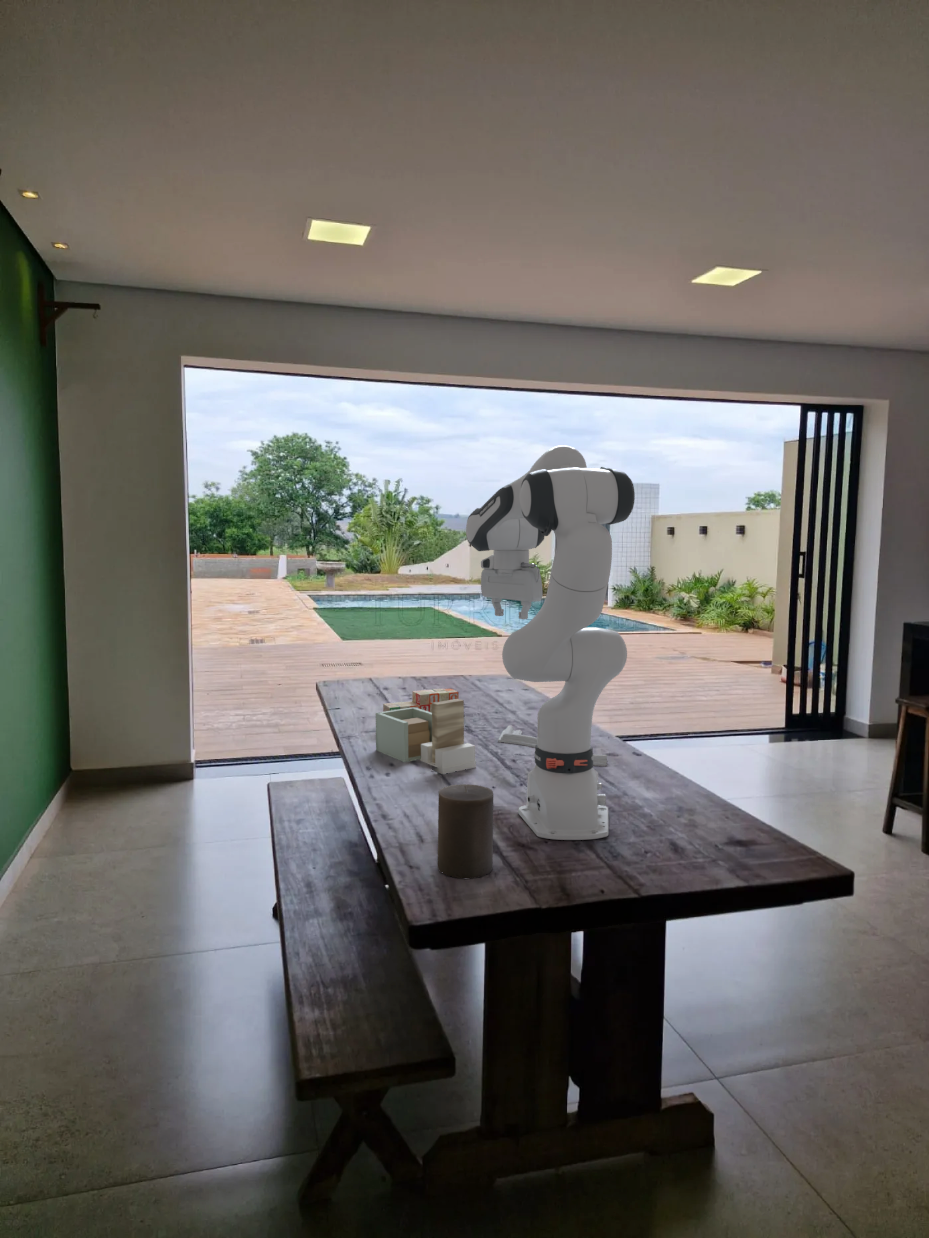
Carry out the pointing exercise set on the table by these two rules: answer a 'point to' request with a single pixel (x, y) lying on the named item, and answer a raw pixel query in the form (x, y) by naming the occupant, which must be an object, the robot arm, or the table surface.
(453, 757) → the holder
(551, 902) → the table surface
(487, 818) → the pillar candle
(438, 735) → the rectangular block
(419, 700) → the stack of blocks
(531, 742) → the molding
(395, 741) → the rack
